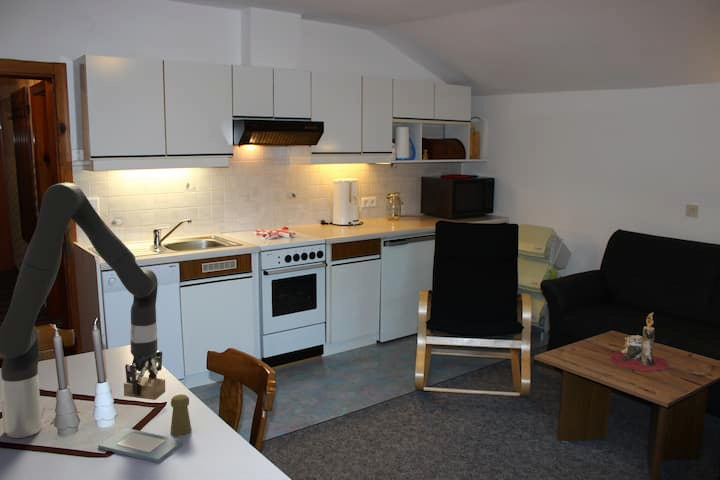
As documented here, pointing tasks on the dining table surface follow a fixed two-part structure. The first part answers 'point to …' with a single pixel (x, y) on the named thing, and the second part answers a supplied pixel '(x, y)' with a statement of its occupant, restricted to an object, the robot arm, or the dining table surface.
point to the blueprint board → (141, 444)
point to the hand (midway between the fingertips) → (144, 390)
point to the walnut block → (147, 388)
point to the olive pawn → (180, 416)
